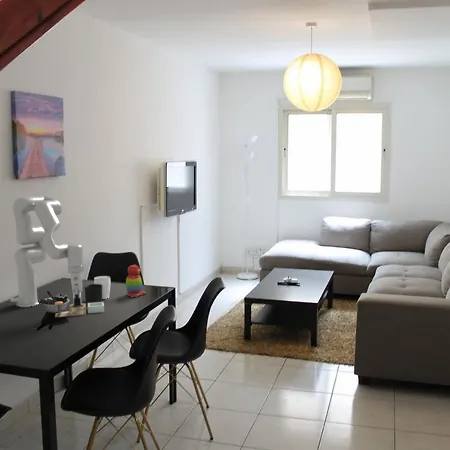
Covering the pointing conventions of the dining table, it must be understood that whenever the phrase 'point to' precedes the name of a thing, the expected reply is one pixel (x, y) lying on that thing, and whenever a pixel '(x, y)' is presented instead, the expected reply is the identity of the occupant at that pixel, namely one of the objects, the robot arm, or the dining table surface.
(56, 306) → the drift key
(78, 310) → the socket block
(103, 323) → the dining table surface
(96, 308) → the mint green square tray
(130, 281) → the stacking bear
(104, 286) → the cup
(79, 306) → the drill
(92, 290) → the pen holder
